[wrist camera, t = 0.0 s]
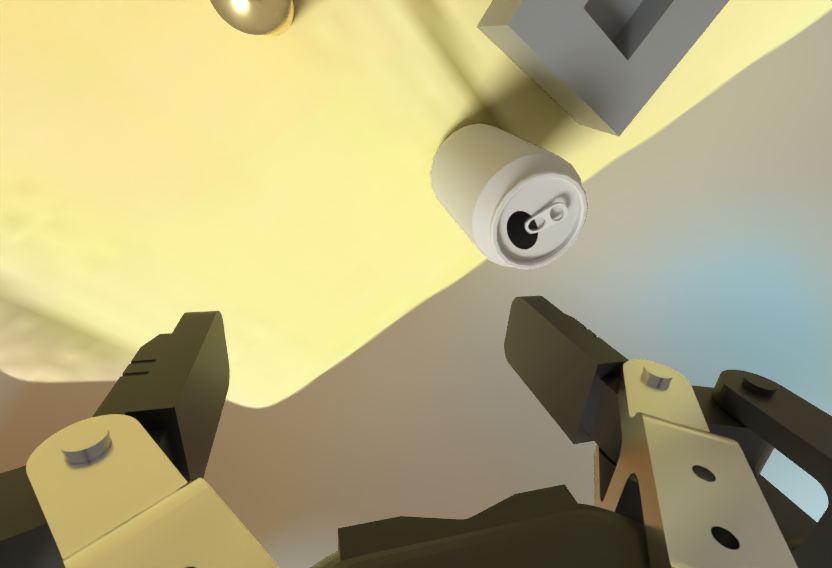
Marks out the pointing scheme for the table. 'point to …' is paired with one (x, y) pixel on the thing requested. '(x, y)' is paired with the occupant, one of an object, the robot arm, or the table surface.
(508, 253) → the can
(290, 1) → the peg
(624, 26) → the socket
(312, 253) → the table surface
